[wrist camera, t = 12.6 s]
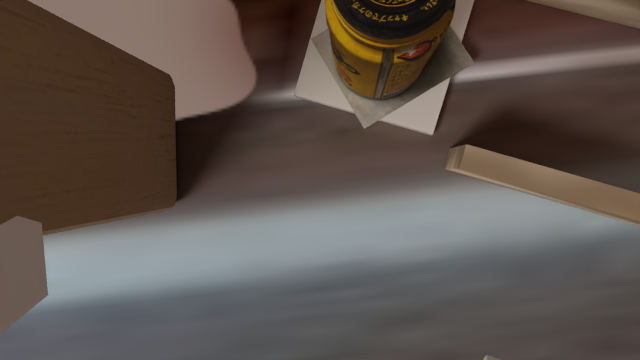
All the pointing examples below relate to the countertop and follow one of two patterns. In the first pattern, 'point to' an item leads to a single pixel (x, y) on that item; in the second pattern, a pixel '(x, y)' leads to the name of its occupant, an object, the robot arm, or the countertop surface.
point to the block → (79, 125)
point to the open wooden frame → (636, 208)
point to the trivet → (326, 91)
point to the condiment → (389, 51)
